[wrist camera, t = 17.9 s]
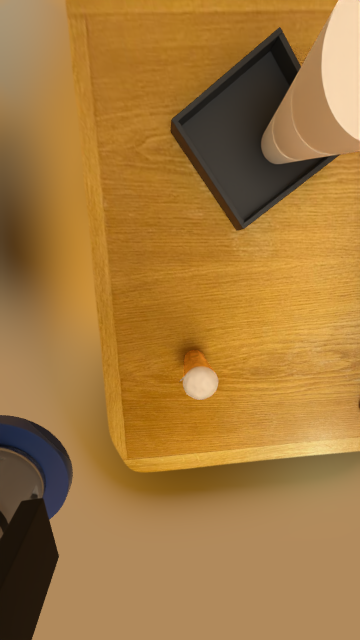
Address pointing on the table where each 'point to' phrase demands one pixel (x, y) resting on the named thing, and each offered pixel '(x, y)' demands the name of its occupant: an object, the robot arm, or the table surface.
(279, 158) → the cup
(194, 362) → the milkshake
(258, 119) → the tray
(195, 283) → the table surface
